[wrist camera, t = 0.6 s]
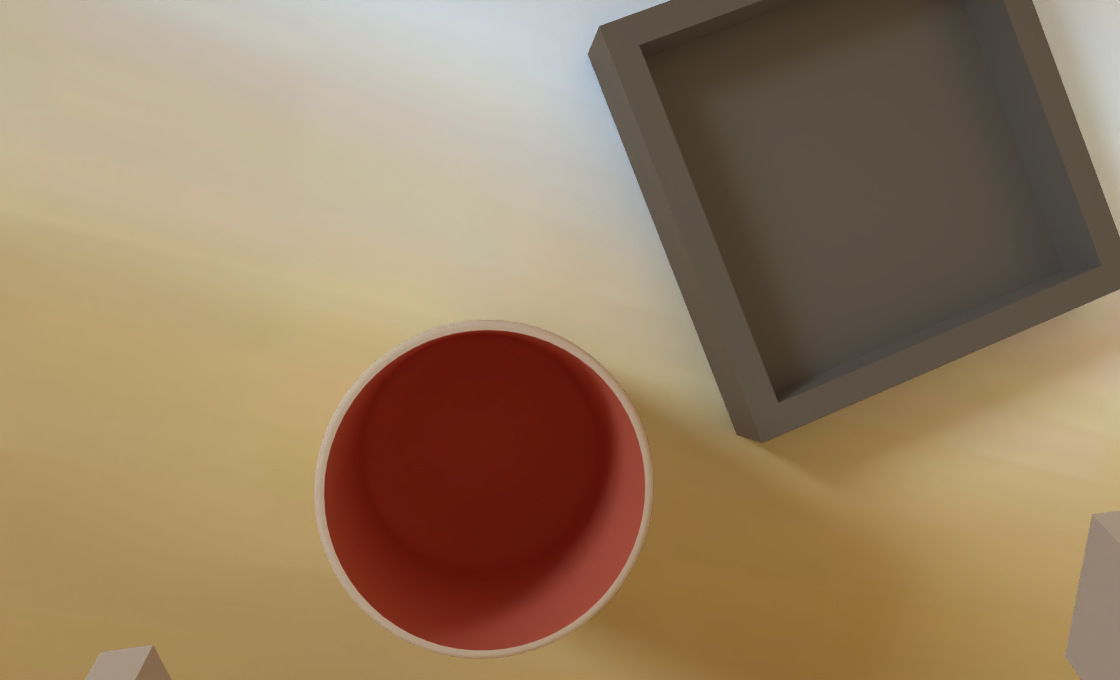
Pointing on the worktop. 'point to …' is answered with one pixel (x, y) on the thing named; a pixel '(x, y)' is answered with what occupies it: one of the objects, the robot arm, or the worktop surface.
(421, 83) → the worktop surface
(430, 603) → the cup
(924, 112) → the tray
